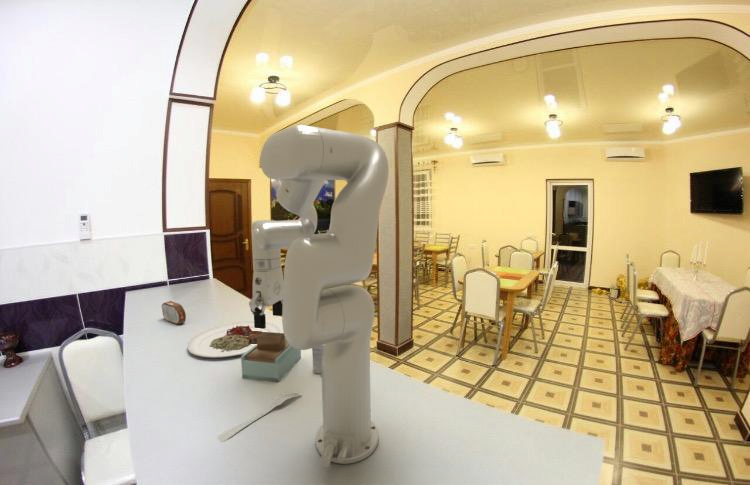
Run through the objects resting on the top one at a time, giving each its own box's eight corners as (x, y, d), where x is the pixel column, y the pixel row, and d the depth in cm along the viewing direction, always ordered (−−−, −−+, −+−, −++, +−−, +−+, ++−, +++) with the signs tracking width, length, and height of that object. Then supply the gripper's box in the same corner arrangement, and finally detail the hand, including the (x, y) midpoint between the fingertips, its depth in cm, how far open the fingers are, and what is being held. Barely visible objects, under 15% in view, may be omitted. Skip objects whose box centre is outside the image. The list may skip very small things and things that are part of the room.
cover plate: (274, 363, 85) (273, 344, 84) (246, 360, 87) (245, 342, 86) (294, 344, 97) (293, 328, 96) (269, 342, 98) (268, 326, 98)
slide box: (278, 382, 85) (277, 359, 84) (242, 378, 87) (241, 356, 86) (300, 357, 98) (300, 338, 98) (269, 354, 101) (268, 335, 100)
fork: (216, 449, 65) (214, 437, 64) (298, 392, 81) (297, 382, 80) (222, 456, 63) (220, 444, 62) (305, 396, 79) (304, 386, 78)
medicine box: (327, 374, 88) (326, 345, 87) (312, 373, 89) (311, 344, 88) (336, 361, 96) (335, 334, 95) (322, 360, 97) (321, 333, 96)
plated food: (199, 372, 91) (198, 361, 90) (179, 340, 113) (179, 331, 113) (294, 342, 110) (294, 333, 110) (261, 320, 133) (261, 312, 133)
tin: (187, 324, 129) (185, 304, 128) (179, 327, 126) (177, 306, 125) (169, 318, 137) (167, 299, 136) (161, 320, 134) (159, 301, 133)
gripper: (262, 270, 80) (265, 334, 82) (293, 258, 97) (294, 312, 99) (236, 269, 81) (239, 332, 83) (271, 258, 98) (273, 310, 100)
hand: (269, 321), depth 91 cm, fingers open, 9 cm apart
